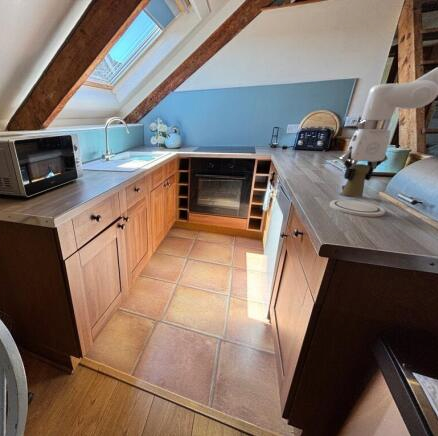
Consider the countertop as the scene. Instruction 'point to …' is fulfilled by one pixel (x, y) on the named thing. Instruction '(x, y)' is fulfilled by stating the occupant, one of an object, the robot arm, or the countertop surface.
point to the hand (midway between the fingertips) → (356, 178)
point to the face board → (357, 208)
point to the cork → (356, 181)
